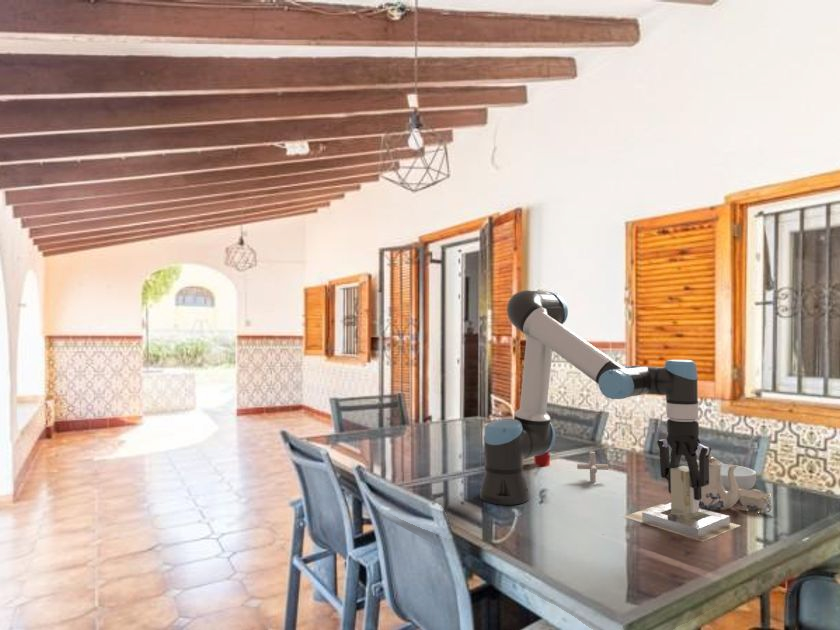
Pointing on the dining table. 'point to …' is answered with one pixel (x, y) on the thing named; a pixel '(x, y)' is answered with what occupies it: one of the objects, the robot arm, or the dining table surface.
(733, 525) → the board
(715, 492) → the chinaware
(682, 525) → the white square frame
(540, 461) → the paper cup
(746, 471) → the cereal bowl
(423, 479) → the dining table surface
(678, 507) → the skincare box
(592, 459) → the pipe connector
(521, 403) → the robot arm
